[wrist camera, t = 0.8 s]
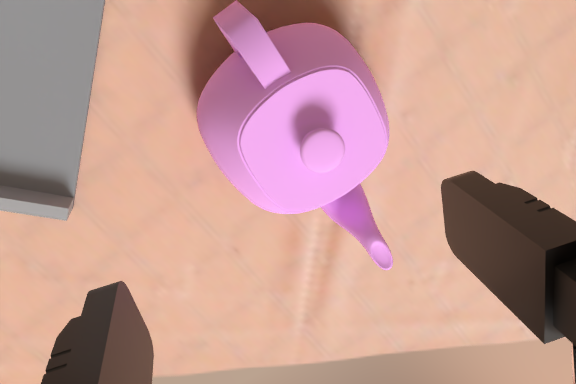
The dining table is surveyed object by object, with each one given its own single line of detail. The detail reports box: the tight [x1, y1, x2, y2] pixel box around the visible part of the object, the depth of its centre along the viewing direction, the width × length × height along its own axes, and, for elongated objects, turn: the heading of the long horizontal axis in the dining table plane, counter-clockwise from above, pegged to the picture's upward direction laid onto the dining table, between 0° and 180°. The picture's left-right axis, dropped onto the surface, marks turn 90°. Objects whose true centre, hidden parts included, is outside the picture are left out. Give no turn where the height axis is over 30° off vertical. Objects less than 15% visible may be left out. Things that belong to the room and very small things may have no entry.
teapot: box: [197, 0, 393, 270], centre depth 34 cm, size 13×20×11 cm
